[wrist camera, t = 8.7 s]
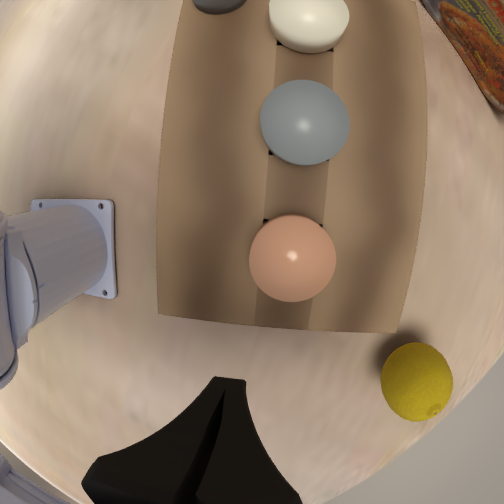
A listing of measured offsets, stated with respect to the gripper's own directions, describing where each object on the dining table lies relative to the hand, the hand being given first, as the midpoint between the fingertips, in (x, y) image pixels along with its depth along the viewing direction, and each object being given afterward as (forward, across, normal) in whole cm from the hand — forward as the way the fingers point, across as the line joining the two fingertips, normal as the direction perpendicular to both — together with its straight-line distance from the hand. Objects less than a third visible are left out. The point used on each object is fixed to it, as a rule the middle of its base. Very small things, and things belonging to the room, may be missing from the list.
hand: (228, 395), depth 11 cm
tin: (+11, -18, -24) cm, 31 cm away
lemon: (+11, -13, +4) cm, 18 cm away
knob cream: (+10, -3, -19) cm, 21 cm away
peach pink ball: (+10, -2, -5) cm, 11 cm away
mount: (+10, -2, -12) cm, 16 cm away
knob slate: (+10, -2, -12) cm, 16 cm away
